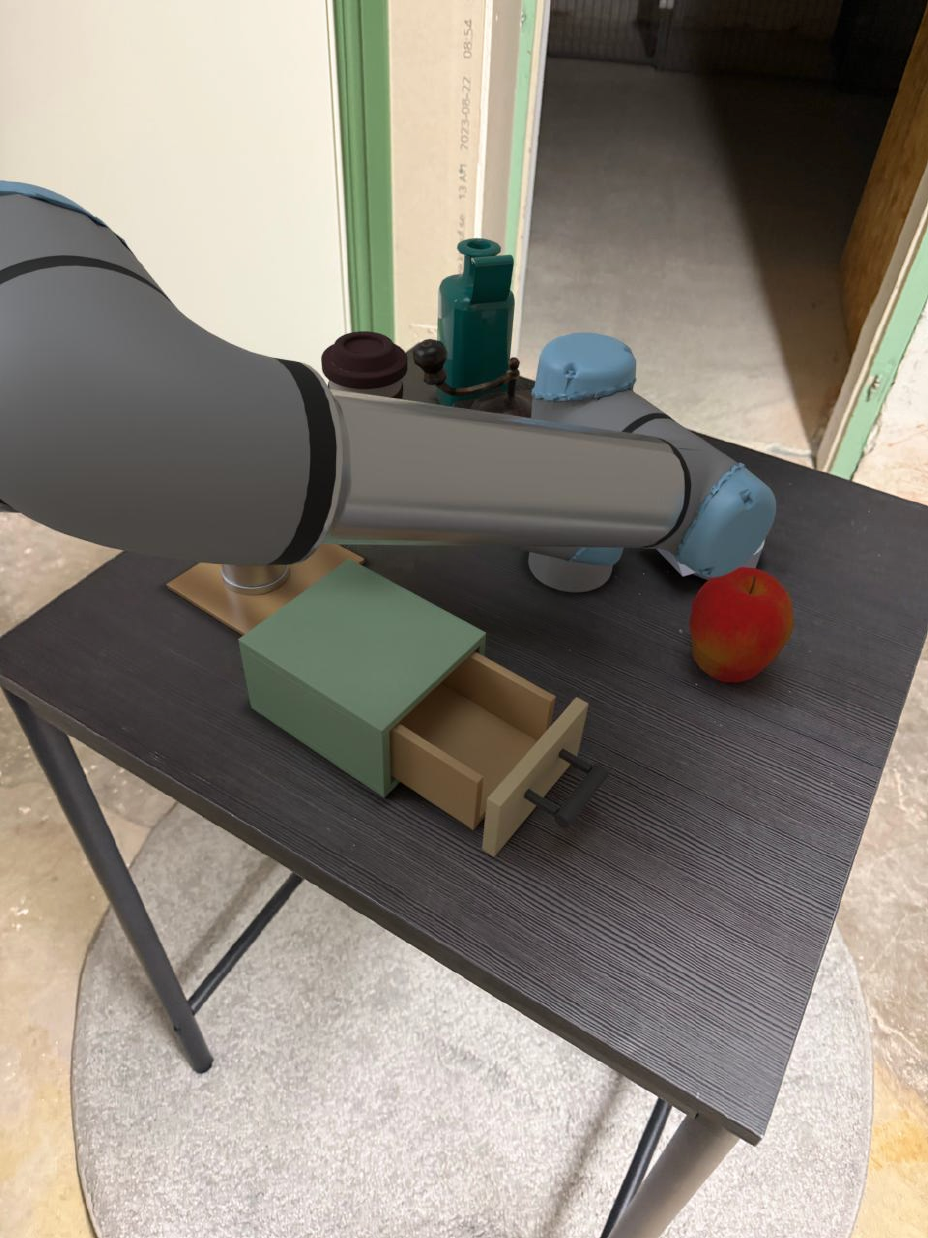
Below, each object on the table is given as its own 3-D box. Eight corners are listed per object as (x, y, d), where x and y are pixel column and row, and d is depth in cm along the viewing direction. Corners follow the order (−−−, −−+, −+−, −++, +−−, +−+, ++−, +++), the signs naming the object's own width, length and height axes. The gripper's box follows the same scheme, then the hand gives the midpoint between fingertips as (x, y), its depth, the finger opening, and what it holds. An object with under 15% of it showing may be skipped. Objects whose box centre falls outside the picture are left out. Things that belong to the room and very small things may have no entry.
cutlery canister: (293, 590, 89) (263, 359, 71) (223, 599, 88) (175, 365, 70) (286, 547, 94) (257, 320, 76) (220, 555, 93) (174, 325, 75)
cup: (576, 604, 91) (593, 511, 82) (511, 563, 95) (521, 471, 87) (627, 565, 95) (648, 474, 87) (563, 528, 100) (577, 438, 92)
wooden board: (255, 644, 84) (254, 640, 84) (167, 588, 90) (166, 583, 89) (364, 562, 94) (364, 558, 94) (279, 516, 99) (278, 512, 99)
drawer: (620, 780, 73) (634, 728, 68) (539, 888, 66) (549, 838, 61) (444, 677, 81) (446, 624, 76) (353, 763, 73) (349, 710, 69)
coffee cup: (377, 426, 114) (374, 316, 104) (423, 460, 109) (425, 348, 98) (313, 451, 109) (303, 338, 99) (358, 487, 104) (352, 372, 94)
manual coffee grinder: (520, 450, 111) (533, 315, 99) (561, 497, 104) (581, 358, 92) (407, 474, 106) (406, 335, 94) (442, 526, 99) (446, 382, 87)
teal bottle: (432, 394, 121) (435, 231, 106) (489, 387, 123) (500, 226, 108) (453, 430, 114) (460, 262, 99) (513, 422, 116) (528, 256, 101)
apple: (755, 719, 80) (795, 625, 72) (663, 681, 83) (690, 587, 75) (780, 657, 86) (820, 564, 78) (693, 624, 89) (722, 531, 81)
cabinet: (481, 700, 80) (486, 632, 74) (384, 798, 72) (381, 731, 66) (353, 625, 87) (349, 557, 81) (251, 707, 79) (237, 639, 72)
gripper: (412, 614, 71) (180, 559, 75) (491, 456, 89) (299, 418, 93) (412, 542, 66) (163, 487, 70) (496, 390, 84) (293, 352, 88)
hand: (240, 448), depth 81 cm, fingers open, 13 cm apart
